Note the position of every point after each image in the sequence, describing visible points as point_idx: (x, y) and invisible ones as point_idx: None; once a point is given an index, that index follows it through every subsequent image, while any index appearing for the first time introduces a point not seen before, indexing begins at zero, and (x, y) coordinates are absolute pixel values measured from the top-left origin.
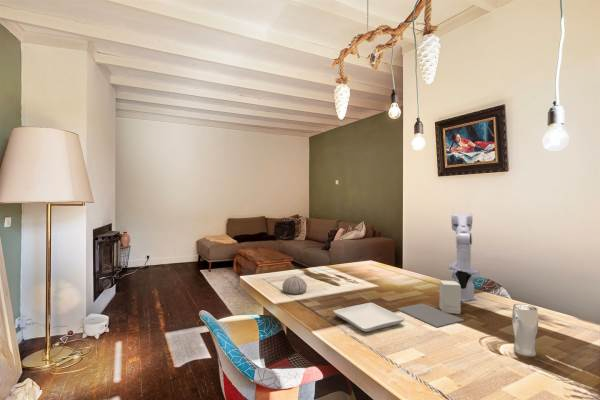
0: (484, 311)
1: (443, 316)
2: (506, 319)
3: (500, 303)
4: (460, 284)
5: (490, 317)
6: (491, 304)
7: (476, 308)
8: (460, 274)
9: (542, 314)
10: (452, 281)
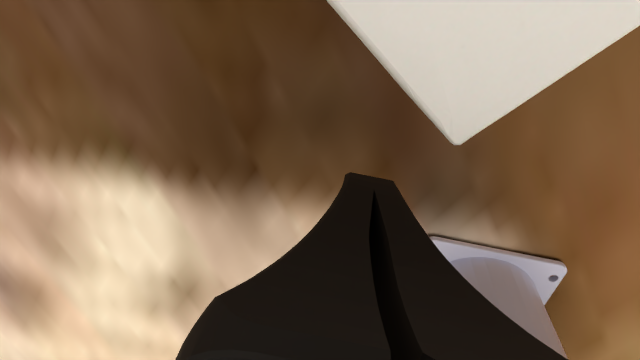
0: (206, 143)
1: None
2: (18, 96)
3: None
4: (389, 205)
5: (89, 34)
6: None
7: (281, 163)
8: (349, 347)
9: (34, 331)
10: (524, 3)
